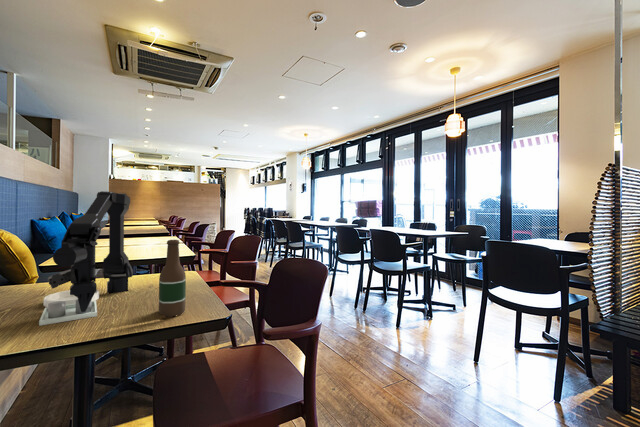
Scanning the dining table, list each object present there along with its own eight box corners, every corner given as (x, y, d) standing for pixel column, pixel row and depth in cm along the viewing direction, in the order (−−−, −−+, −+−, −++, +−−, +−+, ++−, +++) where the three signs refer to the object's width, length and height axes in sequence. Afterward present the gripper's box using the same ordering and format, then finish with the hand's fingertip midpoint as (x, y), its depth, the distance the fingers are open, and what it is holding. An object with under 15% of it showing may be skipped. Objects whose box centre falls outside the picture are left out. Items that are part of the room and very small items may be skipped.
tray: (96, 306, 103) (96, 300, 103) (97, 318, 92) (97, 312, 92) (44, 314, 95) (44, 307, 95) (39, 328, 84) (39, 321, 84)
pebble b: (65, 312, 94) (65, 300, 94) (65, 316, 91) (65, 303, 91) (48, 315, 91) (48, 302, 91) (47, 319, 88) (47, 305, 88)
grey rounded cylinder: (91, 308, 98) (91, 296, 98) (91, 312, 95) (91, 299, 95) (75, 311, 95) (75, 298, 95) (75, 314, 92) (75, 302, 92)
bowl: (98, 294, 117) (98, 287, 117) (99, 304, 105) (99, 296, 105) (46, 301, 107) (46, 292, 107) (41, 313, 96) (41, 303, 96)
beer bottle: (158, 319, 92) (159, 241, 92) (158, 311, 99) (159, 239, 99) (186, 315, 96) (187, 240, 95) (184, 308, 102) (185, 238, 102)
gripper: (52, 259, 97) (52, 306, 97) (46, 268, 83) (46, 324, 83) (95, 256, 104) (95, 300, 104) (96, 264, 89) (96, 316, 90)
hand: (83, 309), depth 95 cm, fingers open, 4 cm apart
